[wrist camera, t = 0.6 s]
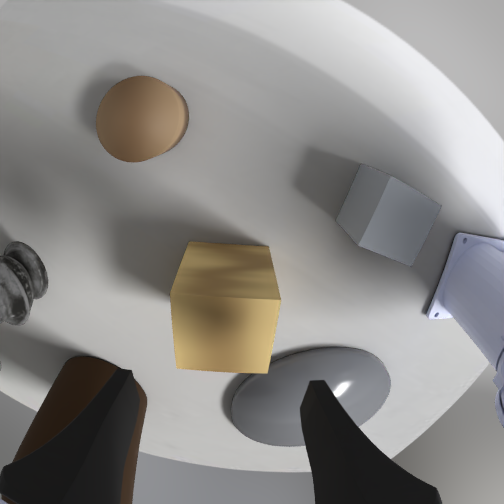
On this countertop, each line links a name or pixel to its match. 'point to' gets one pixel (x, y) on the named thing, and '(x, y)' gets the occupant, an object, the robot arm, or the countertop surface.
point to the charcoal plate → (294, 388)
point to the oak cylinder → (141, 119)
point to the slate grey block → (387, 215)
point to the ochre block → (225, 308)
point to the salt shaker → (20, 282)
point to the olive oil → (71, 404)
